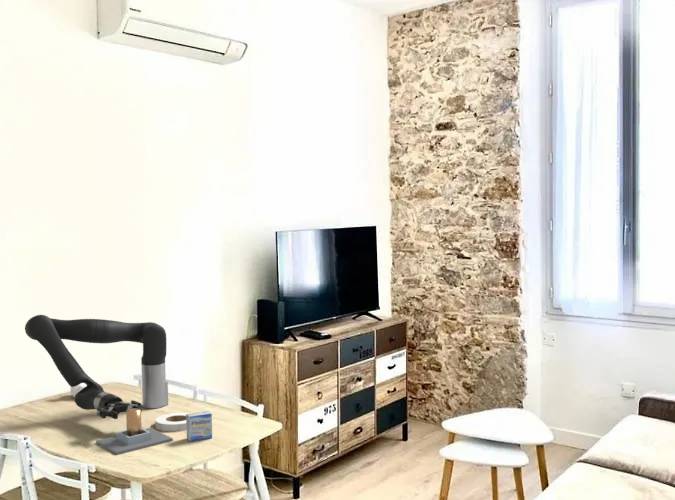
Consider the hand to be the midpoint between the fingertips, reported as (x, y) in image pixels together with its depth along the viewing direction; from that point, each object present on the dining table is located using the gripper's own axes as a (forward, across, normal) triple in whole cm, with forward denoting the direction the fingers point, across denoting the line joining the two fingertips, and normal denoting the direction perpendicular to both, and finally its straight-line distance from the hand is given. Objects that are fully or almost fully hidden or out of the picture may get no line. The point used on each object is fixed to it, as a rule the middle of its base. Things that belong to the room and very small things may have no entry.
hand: (128, 413), depth 240 cm
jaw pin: (+4, 0, +8) cm, 9 cm away
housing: (+5, 0, +9) cm, 10 cm away
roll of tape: (-2, +20, +9) cm, 22 cm away
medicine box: (+17, +18, +9) cm, 26 cm away
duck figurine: (-65, +9, +9) cm, 67 cm away
